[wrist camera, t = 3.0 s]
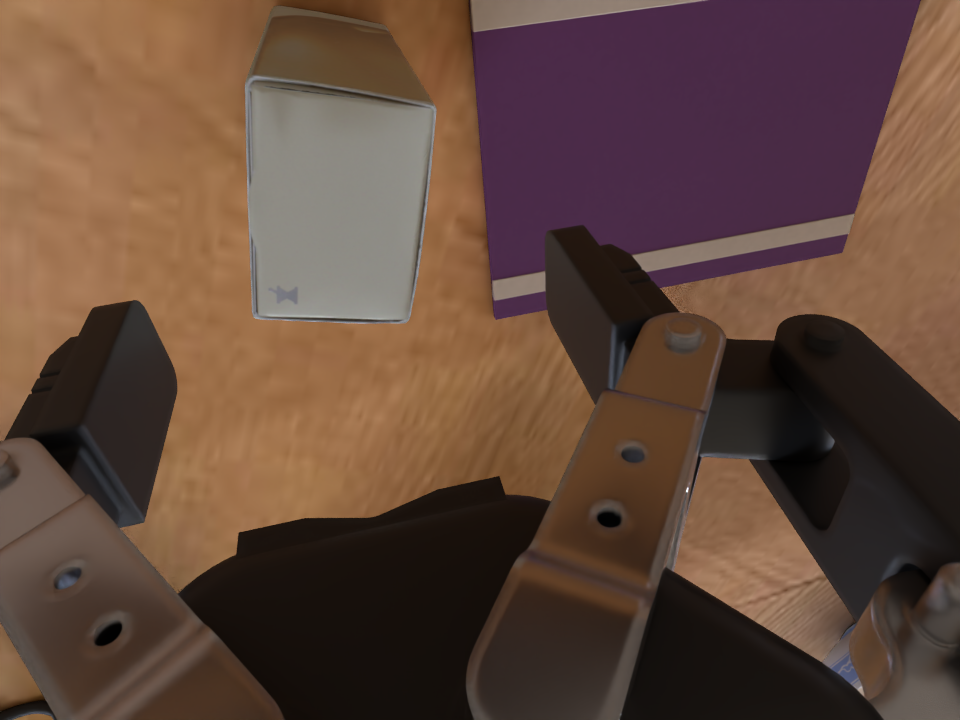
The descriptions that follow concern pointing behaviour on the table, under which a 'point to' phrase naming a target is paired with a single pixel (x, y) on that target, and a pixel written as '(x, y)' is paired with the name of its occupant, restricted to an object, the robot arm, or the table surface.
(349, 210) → the cosmetic box
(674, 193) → the cloth
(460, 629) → the robot arm
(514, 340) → the table surface
